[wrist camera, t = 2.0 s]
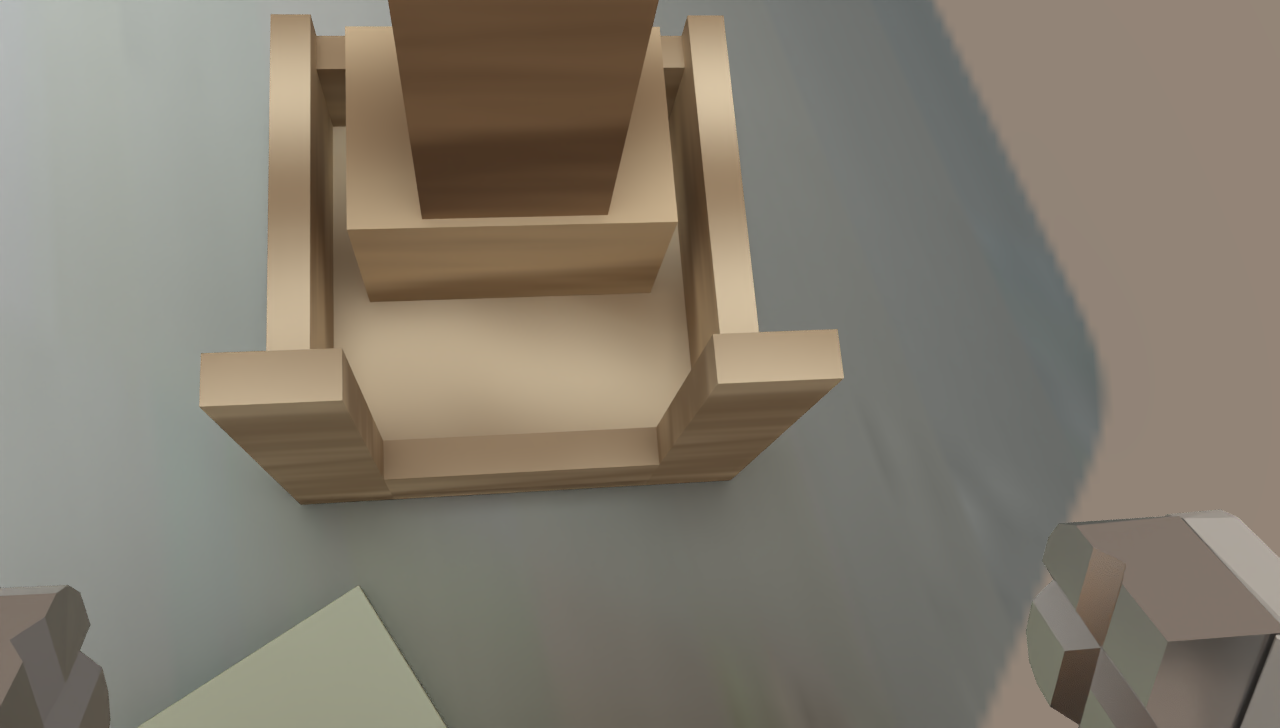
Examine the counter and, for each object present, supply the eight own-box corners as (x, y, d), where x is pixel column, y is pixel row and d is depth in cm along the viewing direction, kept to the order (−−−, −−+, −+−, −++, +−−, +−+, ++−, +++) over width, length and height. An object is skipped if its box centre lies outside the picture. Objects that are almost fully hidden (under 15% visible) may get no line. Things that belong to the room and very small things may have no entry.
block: (607, 215, 28) (658, -1, 19) (422, 219, 27) (388, -2, 18) (595, 53, 29) (638, -218, 20) (417, 53, 28) (383, -226, 20)
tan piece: (730, 480, 32) (843, 378, 22) (300, 504, 31) (199, 406, 20) (692, 106, 36) (775, -139, 25) (302, 110, 34) (215, -152, 23)
